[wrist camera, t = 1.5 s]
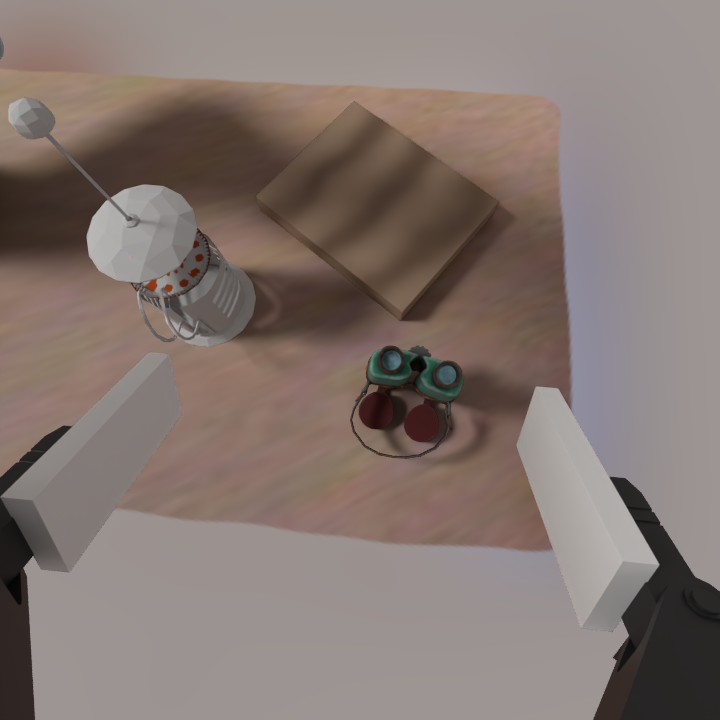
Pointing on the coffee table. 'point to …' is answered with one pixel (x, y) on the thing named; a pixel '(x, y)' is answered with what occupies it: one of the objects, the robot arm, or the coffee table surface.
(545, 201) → the coffee table surface
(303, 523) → the coffee table surface
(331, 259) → the walnut stand
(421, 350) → the binoculars
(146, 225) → the white plunger jar
